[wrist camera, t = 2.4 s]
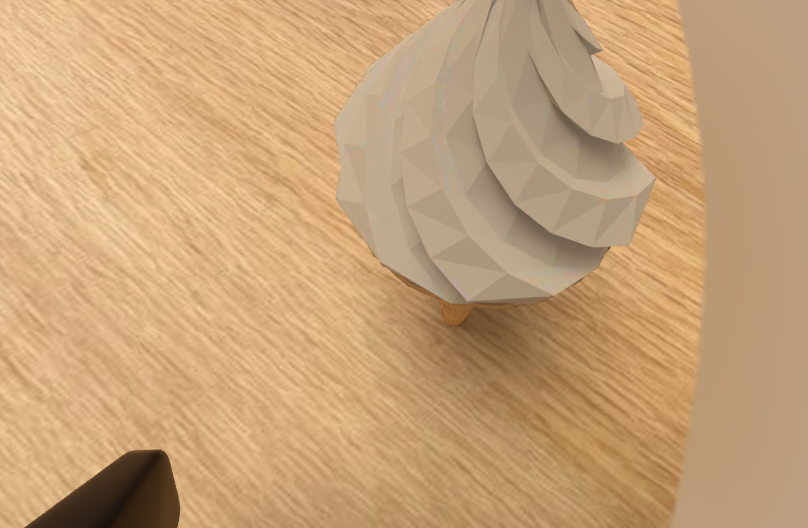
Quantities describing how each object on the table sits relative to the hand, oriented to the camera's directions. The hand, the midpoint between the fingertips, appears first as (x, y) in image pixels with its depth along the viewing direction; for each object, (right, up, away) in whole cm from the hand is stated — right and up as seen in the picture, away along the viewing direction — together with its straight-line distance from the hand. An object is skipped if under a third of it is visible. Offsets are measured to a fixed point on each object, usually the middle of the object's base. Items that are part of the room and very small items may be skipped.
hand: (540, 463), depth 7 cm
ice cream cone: (0, +1, +13) cm, 13 cm away
